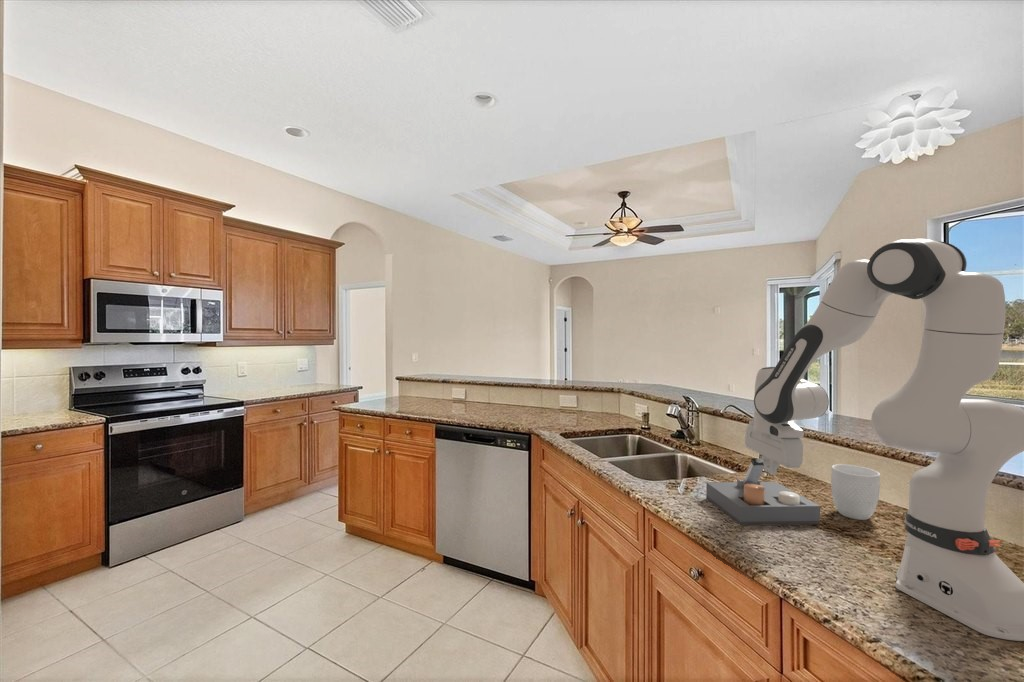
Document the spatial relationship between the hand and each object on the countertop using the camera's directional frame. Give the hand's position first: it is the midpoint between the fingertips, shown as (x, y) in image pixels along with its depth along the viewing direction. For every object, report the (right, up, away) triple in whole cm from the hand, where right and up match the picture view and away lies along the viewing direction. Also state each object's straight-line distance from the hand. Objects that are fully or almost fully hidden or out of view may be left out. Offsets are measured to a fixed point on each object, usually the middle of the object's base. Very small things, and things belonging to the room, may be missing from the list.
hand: (770, 473), depth 125 cm
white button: (+5, -11, 0) cm, 12 cm away
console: (0, -12, +5) cm, 13 cm away
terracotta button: (-5, -8, -1) cm, 10 cm away
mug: (+26, -13, +3) cm, 29 cm away
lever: (0, -7, +11) cm, 12 cm away
